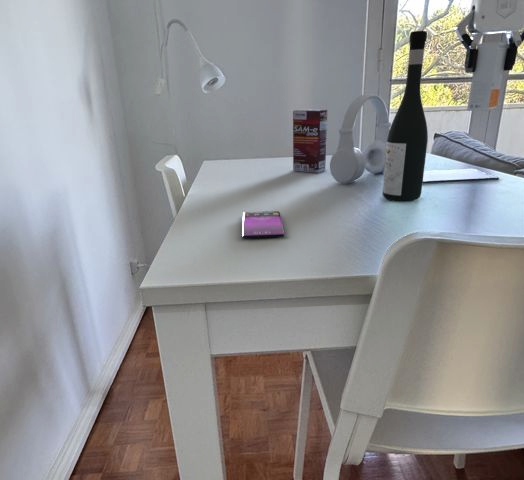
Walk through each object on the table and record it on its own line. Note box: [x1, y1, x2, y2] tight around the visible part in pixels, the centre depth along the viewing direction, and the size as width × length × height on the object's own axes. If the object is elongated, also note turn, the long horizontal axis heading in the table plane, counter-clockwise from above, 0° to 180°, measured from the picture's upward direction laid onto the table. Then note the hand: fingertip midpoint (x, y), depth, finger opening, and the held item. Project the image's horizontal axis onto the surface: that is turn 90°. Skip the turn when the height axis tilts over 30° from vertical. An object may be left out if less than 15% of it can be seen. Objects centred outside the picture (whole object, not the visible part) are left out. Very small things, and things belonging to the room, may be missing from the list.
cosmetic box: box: [466, 41, 508, 112], centre depth 97 cm, size 6×4×12 cm
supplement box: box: [292, 108, 328, 174], centre depth 133 cm, size 9×5×16 cm, turn 55°
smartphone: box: [241, 210, 285, 239], centre depth 85 cm, size 7×15×1 cm, turn 1°
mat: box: [422, 168, 500, 185], centre depth 121 cm, size 22×14×1 cm, turn 93°
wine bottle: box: [382, 30, 429, 203], centre depth 94 cm, size 8×8×30 cm
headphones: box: [329, 94, 392, 185], centre depth 119 cm, size 20×8×19 cm, turn 138°
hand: (488, 70), depth 96 cm, fingers closed on cosmetic box, 7 cm apart
